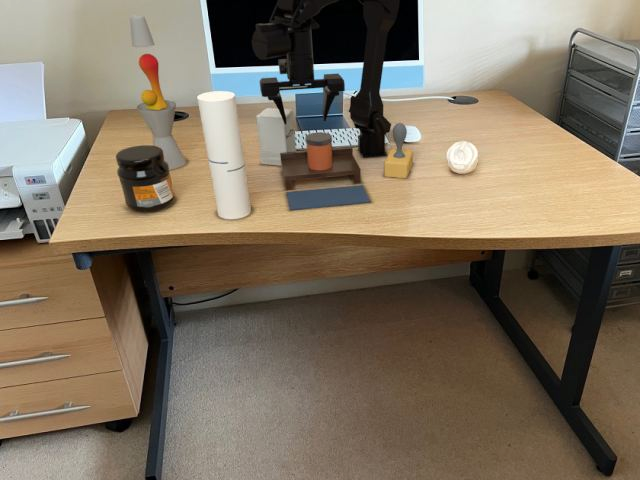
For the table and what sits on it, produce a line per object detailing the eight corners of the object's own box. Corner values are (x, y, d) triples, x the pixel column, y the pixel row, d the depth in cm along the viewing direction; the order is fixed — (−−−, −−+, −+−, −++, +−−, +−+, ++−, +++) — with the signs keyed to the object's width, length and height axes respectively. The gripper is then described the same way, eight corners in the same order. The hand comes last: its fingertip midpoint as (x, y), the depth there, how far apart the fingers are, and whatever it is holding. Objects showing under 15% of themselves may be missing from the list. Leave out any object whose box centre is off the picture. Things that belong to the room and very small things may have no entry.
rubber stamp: (406, 178, 142) (408, 130, 135) (383, 176, 143) (384, 129, 136) (412, 163, 150) (414, 117, 143) (390, 161, 151) (391, 116, 144)
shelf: (352, 166, 148) (351, 147, 145) (360, 183, 139) (360, 163, 136) (281, 172, 145) (279, 152, 142) (285, 190, 136) (283, 169, 133)
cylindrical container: (220, 205, 129) (200, 91, 115) (252, 204, 130) (237, 90, 116) (215, 219, 123) (194, 101, 109) (249, 218, 124) (232, 100, 110)
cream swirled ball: (441, 175, 143) (443, 145, 139) (450, 164, 149) (452, 135, 145) (473, 180, 141) (476, 150, 137) (480, 169, 147) (483, 139, 142)
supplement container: (176, 211, 126) (164, 159, 120) (125, 217, 124) (110, 164, 117) (176, 191, 135) (165, 142, 128) (128, 197, 132) (115, 146, 126)
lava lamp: (172, 154, 154) (142, 11, 135) (194, 162, 150) (166, 15, 130) (143, 165, 148) (107, 16, 129) (165, 173, 144) (131, 20, 124)
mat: (362, 186, 138) (362, 185, 138) (370, 202, 130) (370, 201, 130) (286, 193, 134) (286, 191, 134) (290, 210, 127) (290, 208, 127)
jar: (331, 159, 142) (329, 131, 138) (335, 169, 137) (333, 140, 133) (306, 161, 141) (303, 133, 137) (309, 171, 136) (306, 142, 132)
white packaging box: (288, 166, 148) (283, 117, 141) (260, 164, 149) (254, 115, 142) (297, 156, 154) (293, 108, 147) (271, 154, 155) (265, 106, 148)
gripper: (334, 42, 135) (337, 109, 144) (254, 46, 132) (262, 114, 140) (343, 53, 127) (346, 123, 135) (257, 57, 123) (266, 129, 132)
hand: (305, 122), depth 136 cm, fingers open, 9 cm apart
